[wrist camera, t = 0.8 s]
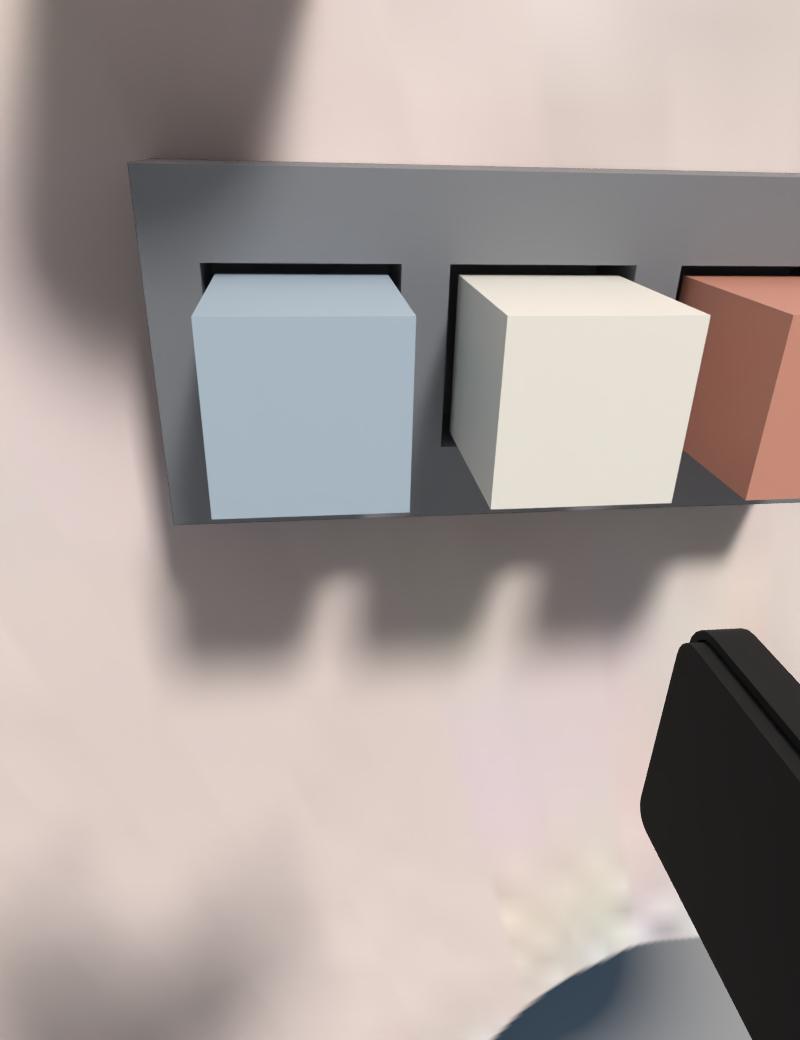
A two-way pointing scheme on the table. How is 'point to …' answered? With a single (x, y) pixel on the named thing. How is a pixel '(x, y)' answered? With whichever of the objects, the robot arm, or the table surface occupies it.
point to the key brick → (748, 383)
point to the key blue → (305, 394)
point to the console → (434, 272)
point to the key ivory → (572, 388)
